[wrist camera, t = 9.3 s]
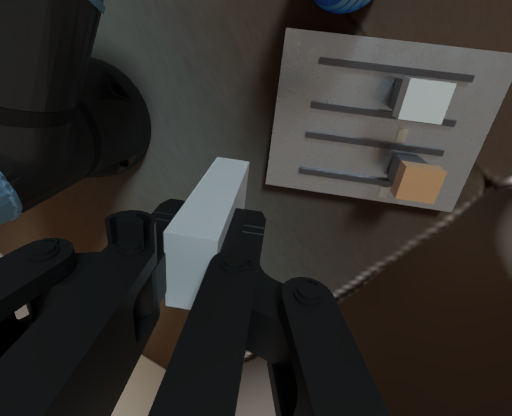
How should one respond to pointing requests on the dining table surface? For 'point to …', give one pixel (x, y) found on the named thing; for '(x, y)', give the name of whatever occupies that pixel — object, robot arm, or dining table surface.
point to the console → (377, 113)
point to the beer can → (341, 5)
